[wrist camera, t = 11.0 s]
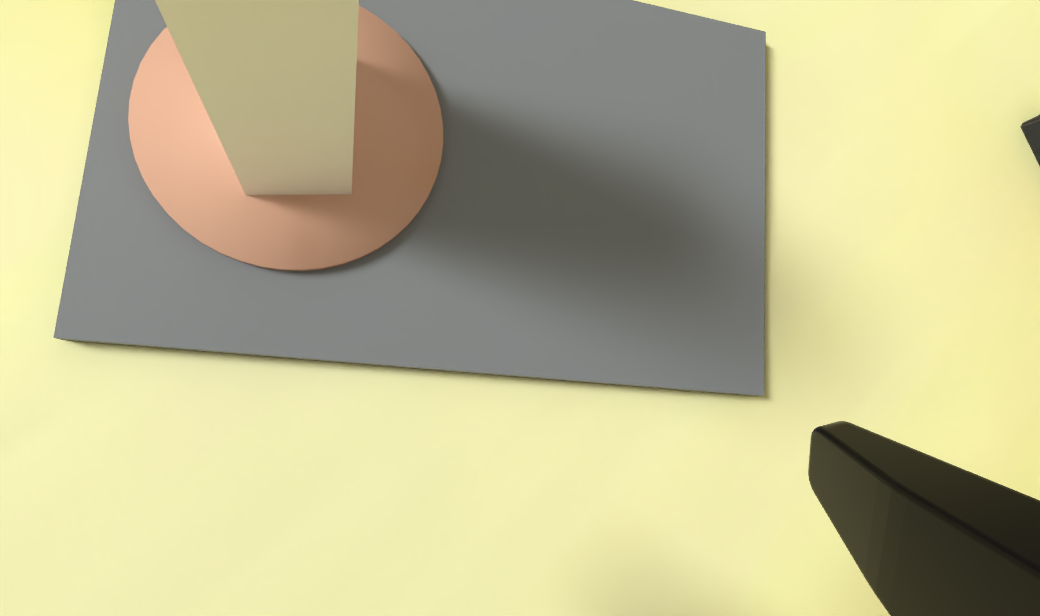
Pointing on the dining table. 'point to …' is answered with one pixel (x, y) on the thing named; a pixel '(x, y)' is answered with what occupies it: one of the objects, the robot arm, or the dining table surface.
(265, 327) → the rubber mat
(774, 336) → the dining table surface
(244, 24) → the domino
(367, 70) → the pink disc
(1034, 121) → the ammunition clip
